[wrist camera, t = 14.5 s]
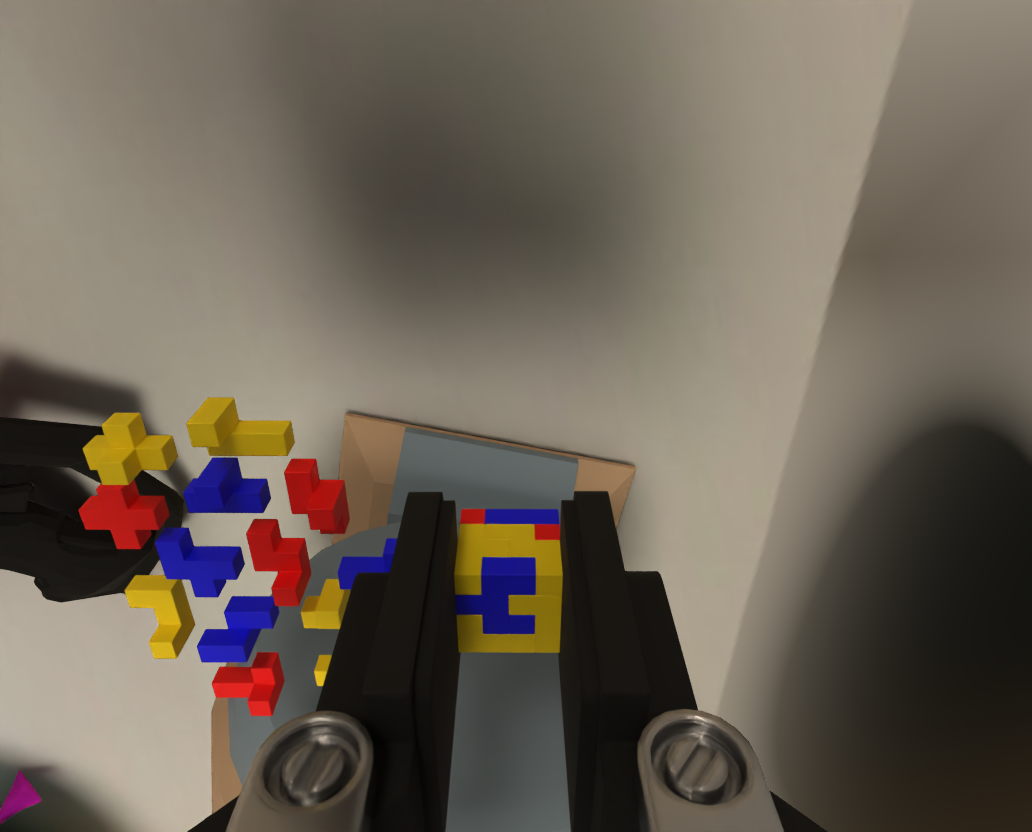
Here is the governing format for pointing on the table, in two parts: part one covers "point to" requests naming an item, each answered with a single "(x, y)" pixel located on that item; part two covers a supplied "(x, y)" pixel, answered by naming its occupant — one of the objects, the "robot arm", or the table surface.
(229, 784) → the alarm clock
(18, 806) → the toy
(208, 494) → the building blocks
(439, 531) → the robot arm
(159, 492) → the decorative object
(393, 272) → the table surface
